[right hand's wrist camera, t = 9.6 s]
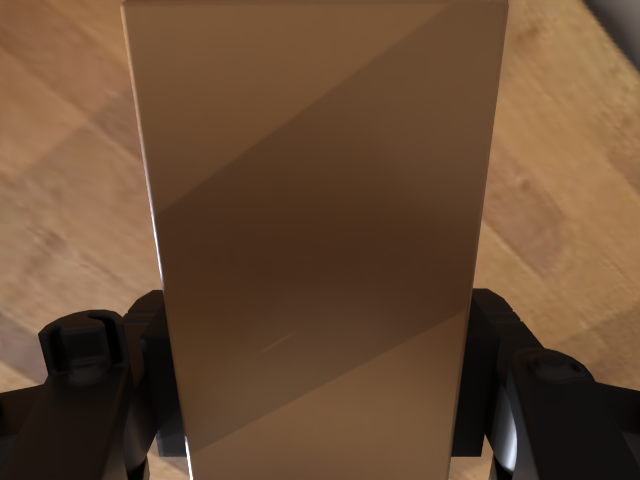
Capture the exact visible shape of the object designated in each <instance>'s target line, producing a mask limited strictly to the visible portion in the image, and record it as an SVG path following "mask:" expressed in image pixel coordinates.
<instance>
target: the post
mask: <svg viewBox="0 0 640 480" xmlns="http://www.w3.org/2000/svg"><path fill="white" fill-rule="evenodd" d="M508 8H509V4H508V0H126V1H124V2H122V3H121V8H120V9H121V16H122V23H123V29H124V36H125V43H126V49H127V56H128V63H129V69H130V76H131V83H132V89H133V96H134V103H135V109H136V116H137V123H138V129H139V136H140V143H141V149H142V156H143V163H144V169H145V176H146V183H147V189H148V196H149V203H150V209H151V216H152V223H153V229H154V236H155V243H156V249H157V256H158V263H159V269H160V276H161V283H162V289H163V296H164V303H165V309H166V316H167V323H168V329H169V336H170V343H171V350H172V356H173V363H174V370H175V376H176V383H177V390H178V396H179V403H180V410H181V416H182V423H183V430H184V436H185V443H186V450H187V456H188V463H189V470H190V476H191V480H448V476H449V469H450V461H451V453H452V445H453V437H454V430H455V422H456V414H457V406H458V398H459V390H460V383H461V375H462V367H463V359H464V351H465V344H466V336H467V328H468V320H469V312H470V305H471V297H472V289H473V281H474V273H475V266H476V258H477V250H478V242H479V234H480V226H481V219H482V211H483V203H484V195H485V187H486V180H487V172H488V164H489V156H490V148H491V141H492V133H493V125H494V117H495V109H496V102H497V94H498V86H499V78H500V70H501V62H502V55H503V47H504V39H505V31H506V23H507V16H508Z"/></svg>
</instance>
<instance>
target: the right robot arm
mask: <svg viewBox="0 0 640 480" xmlns="http://www.w3.org/2000/svg"><path fill="white" fill-rule="evenodd" d="M38 336H39V340H40V344H41V348H42V352H43V356H44V359H45V363H46V367H47V371H48V377H47V379H46V381H45V383H44V384H42V385H38V386H34V387H29V388H24V389H19V390H14V391H9V392H3V393H0V480H149V477H150V472H149V464H148V458H147V453H148V451H149V448H150V446H151V444H152V442H153V440H154V438H155V435H156V440H157V446H158V452H159V457H188V456H187V450H186V443H185V436H184V430H183V423H182V416H181V410H180V403H179V396H178V390H177V383H176V376H175V370H174V363H173V356H172V350H171V343H170V336H169V329H168V323H167V316H166V309H165V303H164V296H163V290H152V291H151V292H149V293H147V294H146V295H144V296H142V297H141V298H139V299H137V300H136V302H135V303H134V304H133V305H132V307H131V308H130V309H129V310H128V313H126V314H125V315H124V316H123V318H122V316H120V315H119V314H118V313H116V312H114V311H109V310H87V311H82V312H76V313H73V314H70V315H67V316H64V317H61V318H59V319H57V320H55V321H53V322H52V323H50V324H48V325H46V326H45V327H44V328H43V329H42V330H41V331H40V332H39V333H38ZM484 435H486V437H487V439H488V441H489V443H490V446H491V448H492V450H493V452H494V453H493V458H492V464H491V470H490V475H489V480H640V391H637V390H632V389H627V388H622V387H617V386H612V385H606V384H602V383H598V382H595V380H594V378H593V376H592V374H591V373H590V372H589V371H588V369H587V368H586V367H585V366H584V365H583V364H581V363H580V362H578V361H577V360H575V359H574V358H572V357H570V356H568V355H565V354H563V353H561V352H558V351H555V350H550V349H546V348H544V347H543V346H542V345H541V343H540V342H539V341H538V340H537V339H536V337H535V336H534V335H533V334H532V332H531V331H530V330H529V329H528V328H527V326H526V325H525V324H524V323H523V321H520V318H519V317H518V315H517V314H516V313H515V312H513V309H512V308H511V307H510V306H509V304H508V303H507V302H506V301H505V300H504V298H502V297H501V296H499V295H497V294H496V293H494V292H492V291H491V290H489V289H472V297H471V305H470V312H469V320H468V328H467V336H466V344H465V351H464V359H463V367H462V375H461V383H460V390H459V398H458V406H457V414H456V422H455V430H454V437H453V445H452V453H451V457H481V453H482V447H483V441H484Z"/></svg>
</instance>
